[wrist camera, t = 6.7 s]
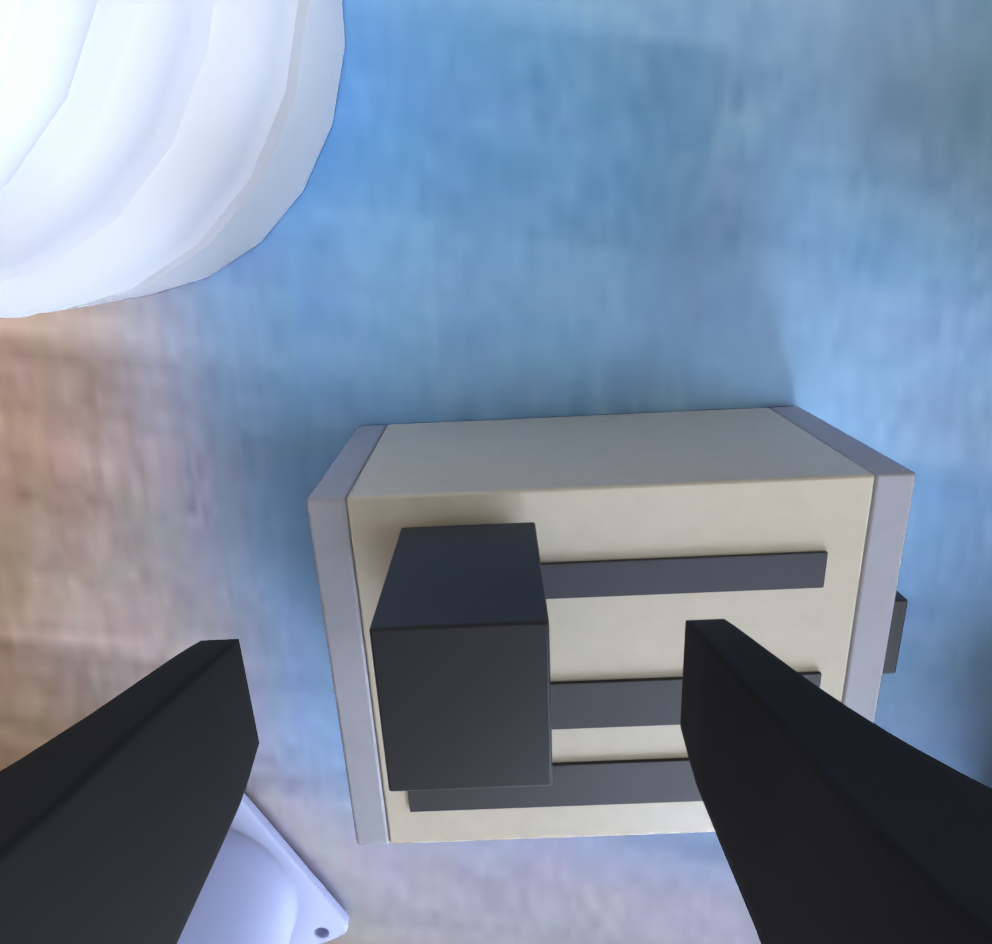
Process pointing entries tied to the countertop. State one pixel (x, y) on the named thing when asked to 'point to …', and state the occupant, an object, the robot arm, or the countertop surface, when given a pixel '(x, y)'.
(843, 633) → the toaster
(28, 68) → the honey pot
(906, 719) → the countertop surface
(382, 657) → the slider
